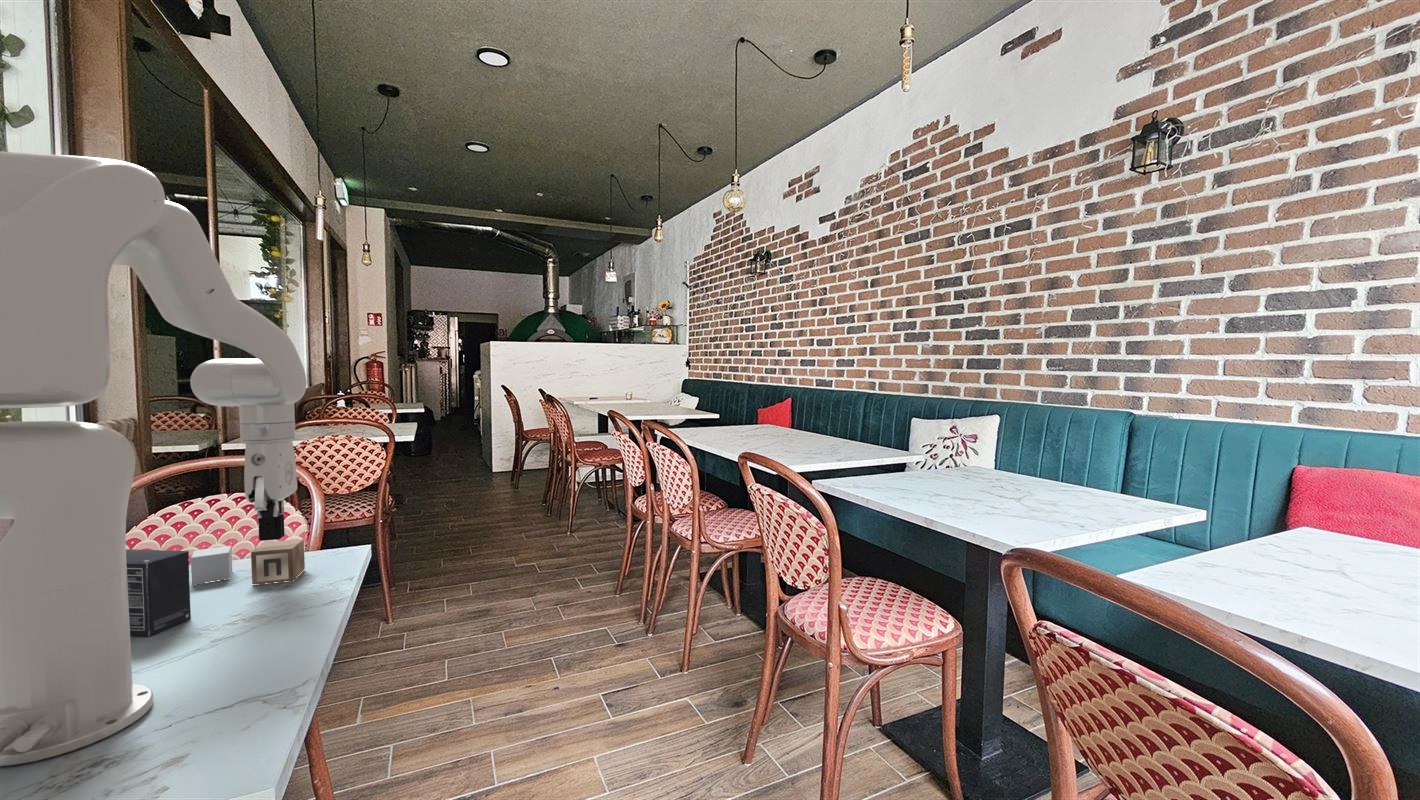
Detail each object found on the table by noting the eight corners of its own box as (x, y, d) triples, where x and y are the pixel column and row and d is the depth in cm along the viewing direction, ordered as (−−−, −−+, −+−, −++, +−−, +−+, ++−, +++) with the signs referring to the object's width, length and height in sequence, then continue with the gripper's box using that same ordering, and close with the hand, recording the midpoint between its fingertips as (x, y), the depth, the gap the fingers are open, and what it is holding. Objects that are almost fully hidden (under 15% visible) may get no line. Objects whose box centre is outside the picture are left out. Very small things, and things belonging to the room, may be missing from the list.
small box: (195, 618, 86) (192, 549, 86) (149, 638, 80) (145, 563, 79) (131, 615, 87) (128, 546, 87) (81, 634, 81) (77, 560, 80)
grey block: (229, 580, 102) (228, 552, 102) (192, 586, 99) (190, 557, 99) (232, 572, 106) (231, 545, 106) (196, 578, 103) (195, 550, 103)
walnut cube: (292, 548, 101) (303, 539, 107) (250, 551, 99) (264, 542, 105) (293, 582, 101) (304, 571, 107) (252, 586, 99) (265, 574, 105)
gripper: (278, 436, 93) (282, 549, 94) (307, 428, 107) (310, 526, 108) (221, 438, 91) (226, 553, 92) (258, 429, 105) (262, 529, 106)
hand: (272, 538), depth 100 cm, fingers closed
